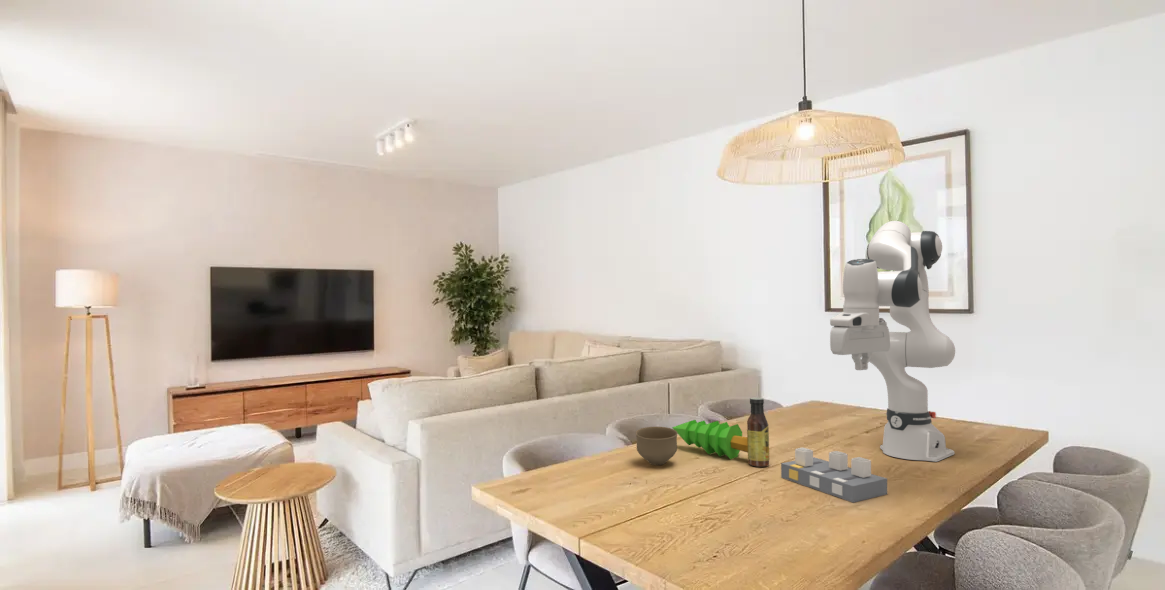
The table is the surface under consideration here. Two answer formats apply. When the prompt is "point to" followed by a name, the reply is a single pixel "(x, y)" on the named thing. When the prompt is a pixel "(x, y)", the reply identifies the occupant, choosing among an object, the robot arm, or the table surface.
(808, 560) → the table surface
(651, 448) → the bowl
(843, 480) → the console
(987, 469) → the table surface
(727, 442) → the decorative tree
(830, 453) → the knob
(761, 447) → the sauce bottle
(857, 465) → the knob
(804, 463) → the knob
